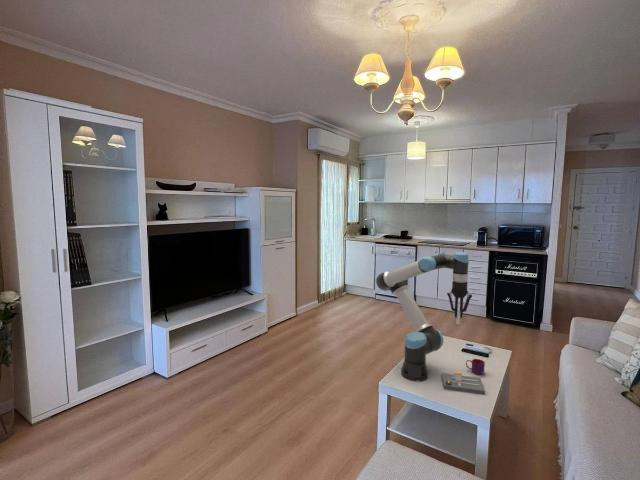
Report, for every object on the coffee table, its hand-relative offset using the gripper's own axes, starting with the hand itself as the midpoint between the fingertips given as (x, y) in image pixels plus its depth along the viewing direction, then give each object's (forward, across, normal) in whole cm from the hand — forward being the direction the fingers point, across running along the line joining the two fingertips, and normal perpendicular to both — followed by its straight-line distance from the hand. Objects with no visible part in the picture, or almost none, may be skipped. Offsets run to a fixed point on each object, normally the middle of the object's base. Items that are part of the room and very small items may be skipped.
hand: (458, 323), depth 190 cm
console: (+32, +3, -5) cm, 33 cm away
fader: (+30, +1, -5) cm, 31 cm away
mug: (+33, +12, +13) cm, 37 cm away
